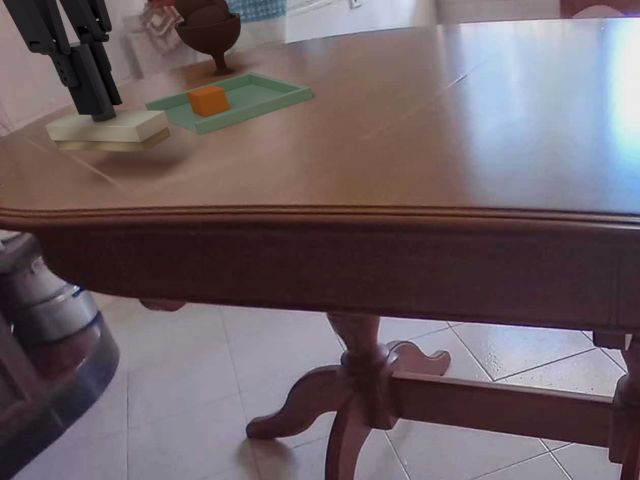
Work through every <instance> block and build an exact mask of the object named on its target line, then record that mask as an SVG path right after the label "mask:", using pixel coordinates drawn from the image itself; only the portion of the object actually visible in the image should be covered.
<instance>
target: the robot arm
mask: <svg viewBox="0 0 640 480" xmlns="http://www.w3.org/2000/svg"><path fill="white" fill-rule="evenodd" d="M2 2H3V4H4V6H5V8H6V10H7V12H8V14H9V15H10V17H11V19H12V21H13V23H14V25H15V27H16V28H17V30H18V33H19V34H20V36H21V38H22V40H23V42H24V44H25V46H26V47H27V49H28V51H29V52H30V53H32V54H40V55H42V56H48V57H49V58H50V59H51V62H52V64H53V66H54V68H55V71H56V73H57V75H58V77H59V80H60V83H61V84H62V85H63V86H64V88H67V90H68V92H69V94H70V96H71V99H72V101H73V104H74V107H75V108H76V110H77V111H78V113H79V115H100V114H102V113H103V110H102V108H101V105H100V103H99V100H98V98H97V95H96V93H95V91H94V88H93V86H92V83H91V81H90V78H89V76H88V73H87V71H86V68H85V66H84V63H83V61H82V58H81V56H80V53H79V52H71V47H70V44H69V43H70V41H69V38H68V35H67V31H66V28H65V25H64V21H63V18H62V15H61V11H60V9H59V5H58V2H59V3H60V5H61V7H62V9H63V11H64V13H65V16H66V17H67V19H68V22H69V23H70V25H71V28H72V29H73V32H74V33H75V35H76V37H77V39H78V42H80V41H86V42H88V43H89V46H90V48H91V51H92V54H93V56H94V59H95V61H96V64H97V66H98V69H99V71H100V74H101V76H102V79H103V82H104V84H105V87H106V89H107V92H108V94H109V97H110V99H111V102H112V104H113V106H120V105H122V104H123V101H122V98H121V96H120V93H119V90H118V88H117V84H116V82H115V80H114V77H113V75H112V71H113V69H112V65H111V62H110V59H109V56H108V53H107V51H106V48H105V46H104V43H108V42H109V40H110V35H109V33H111V32H112V31H113V26H112V22H111V18H110V15H109V12H108V11H109V10H108V8H107V4H106V0H58V2H57V0H2Z"/></svg>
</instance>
